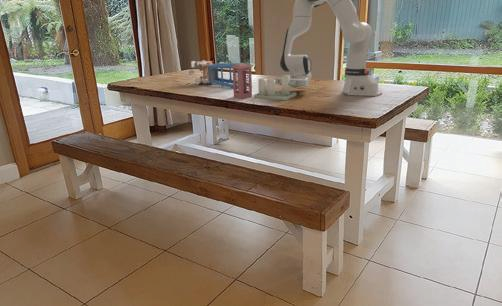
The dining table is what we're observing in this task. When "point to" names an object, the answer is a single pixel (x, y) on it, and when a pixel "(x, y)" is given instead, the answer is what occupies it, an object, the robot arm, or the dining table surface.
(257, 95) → the tray
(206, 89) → the dining table surface
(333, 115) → the dining table surface
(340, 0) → the robot arm
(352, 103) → the dining table surface
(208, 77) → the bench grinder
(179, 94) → the dining table surface
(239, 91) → the miniature model
